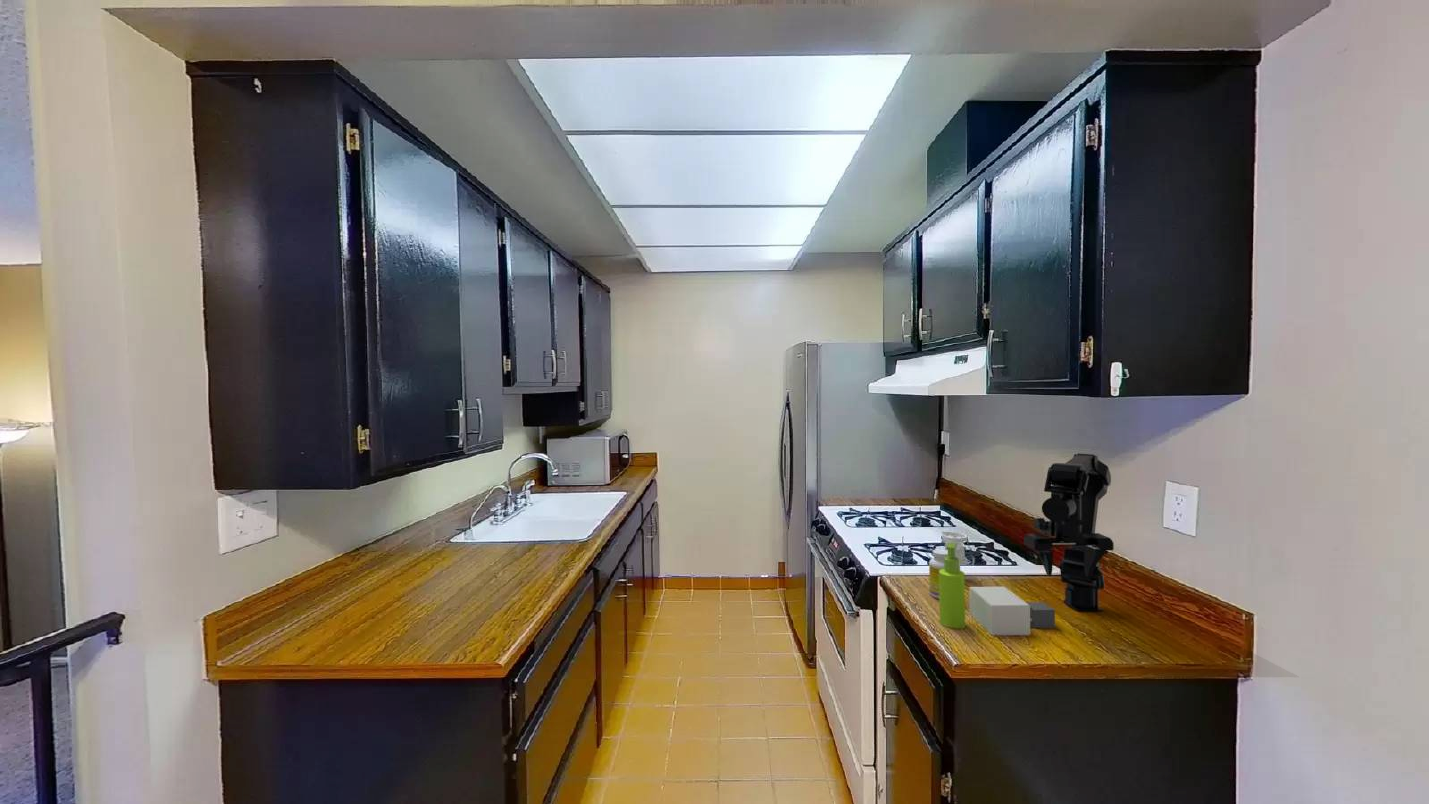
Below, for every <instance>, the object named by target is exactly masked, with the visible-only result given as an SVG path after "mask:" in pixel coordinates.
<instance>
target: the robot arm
mask: <svg viewBox="0 0 1429 804" xmlns="http://www.w3.org/2000/svg"><path fill="white" fill-rule="evenodd" d="M1111 482H1112V475H1111V472H1110V468H1109V466H1108V465H1107V464H1105V463H1103V462H1102V461H1100V460H1099V458H1098V455H1095V454H1093V453H1074V455H1073V457H1072V458H1070V459H1069V460H1068V461H1066V462H1054V463H1052V464H1051V465H1050V466H1049V467H1048V469H1047V474H1046V478H1045V483H1044V489H1043V491H1044V492H1046V493H1050V497H1049V498H1047V499H1045V501H1043V503H1042V505H1041V511H1042V514H1043V516H1044V517H1045V518H1047V521H1046V520H1045V518H1044V517H1038V518H1034V519H1033V528H1034V531H1036V532H1041V533H1026V534H1025V536H1024V537H1023V545H1024V546H1027V547H1028V548H1029V549H1031V550H1033V551H1034V552H1036V554H1037V556H1038V557H1039V558H1040V561H1041V564H1042V565H1043V568H1044V571H1045V573H1046V575H1047V576H1048V577H1052V573H1053V565H1054V563H1053V562H1054V551H1052V549H1053V547H1057V546H1058V547H1059V546H1061V547H1062V546H1063V547H1064V546H1065V547H1066V548H1065V550H1064V553H1063V559H1061V560H1060V564H1059V570H1060V571H1059V572H1060V580H1061V583H1065V584H1066V587H1065V588H1064V599H1063V600H1062V602H1063V603H1064V604H1065V605H1067V606H1069V607H1070V608H1072V609H1074V610H1075V611H1077V612H1103V608H1101V607H1099V591H1100V590H1105V579H1104V574H1103V571H1102V569H1101V566H1100V565H1099V562H1100V561H1101V559H1102V558H1103V556H1104V555H1107V554H1109V551H1114V547H1115V546H1114V545H1115V544H1114V541H1113V539H1112V538H1110V537H1109V536H1106V535H1104V534H1101V533H1098V532H1096V527H1097V518H1098V516H1097V515H1098V510H1099V509H1098V508H1099V501H1100V500H1101V499H1102V498H1103V497H1104V496H1106V494H1107V493H1108V487H1109V486H1111V484H1112V483H1111ZM1048 520H1049V521H1048ZM1046 535H1048V536H1050V537H1047V536H1046ZM1067 546H1069V547H1067Z"/></svg>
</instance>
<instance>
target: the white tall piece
mask: <svg viewBox="0 0 1429 804" xmlns="http://www.w3.org/2000/svg"><path fill="white" fill-rule="evenodd" d="M950 536H951V537H950ZM967 541H968V535H966V534H965V533H962V532H955V531H952V530H944V529H942V530H941V542H942V543H944V550H947V551H948V549H947V544H948V543H949V542H950V543H957V545H956V548H955V557H956V558H958V559H959V570H960V571H961V566H966V565H967V564H968V558H967V557H965V544H964V542H967Z"/></svg>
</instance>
